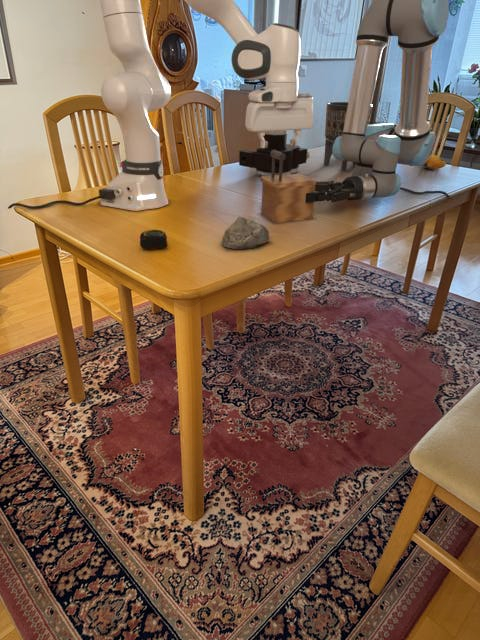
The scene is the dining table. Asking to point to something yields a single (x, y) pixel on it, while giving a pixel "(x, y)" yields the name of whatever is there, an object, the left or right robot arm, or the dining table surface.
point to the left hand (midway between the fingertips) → (278, 147)
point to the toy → (434, 162)
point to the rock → (245, 234)
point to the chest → (286, 203)
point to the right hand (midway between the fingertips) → (298, 193)
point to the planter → (335, 128)
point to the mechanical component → (264, 159)
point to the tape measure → (153, 239)
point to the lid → (281, 179)
